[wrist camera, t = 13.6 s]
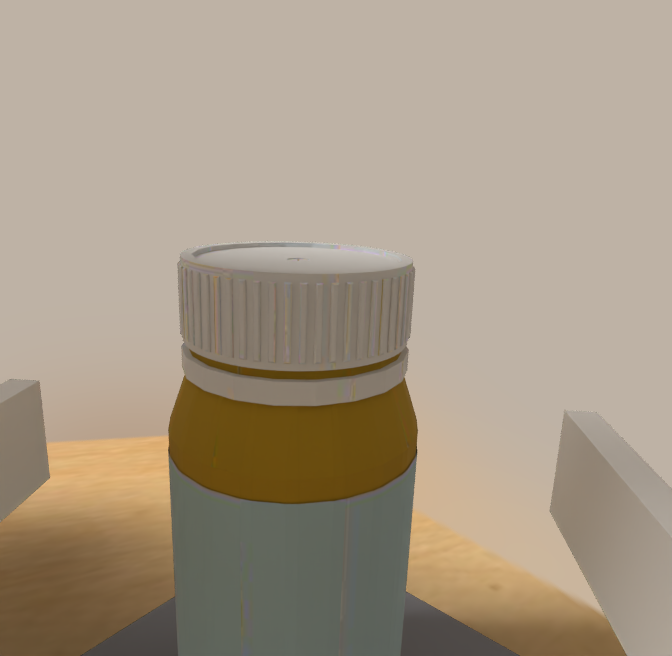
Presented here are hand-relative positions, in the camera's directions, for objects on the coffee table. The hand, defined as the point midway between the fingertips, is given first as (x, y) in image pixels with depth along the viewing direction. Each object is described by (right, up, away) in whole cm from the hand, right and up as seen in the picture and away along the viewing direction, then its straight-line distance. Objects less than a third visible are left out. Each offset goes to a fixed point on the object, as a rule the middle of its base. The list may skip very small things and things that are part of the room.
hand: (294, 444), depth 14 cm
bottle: (-1, -10, +5) cm, 11 cm away
